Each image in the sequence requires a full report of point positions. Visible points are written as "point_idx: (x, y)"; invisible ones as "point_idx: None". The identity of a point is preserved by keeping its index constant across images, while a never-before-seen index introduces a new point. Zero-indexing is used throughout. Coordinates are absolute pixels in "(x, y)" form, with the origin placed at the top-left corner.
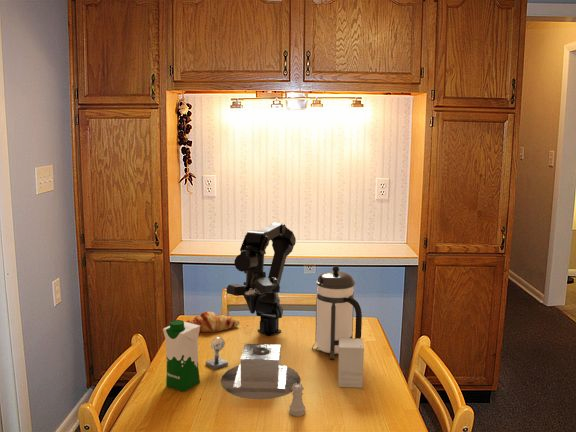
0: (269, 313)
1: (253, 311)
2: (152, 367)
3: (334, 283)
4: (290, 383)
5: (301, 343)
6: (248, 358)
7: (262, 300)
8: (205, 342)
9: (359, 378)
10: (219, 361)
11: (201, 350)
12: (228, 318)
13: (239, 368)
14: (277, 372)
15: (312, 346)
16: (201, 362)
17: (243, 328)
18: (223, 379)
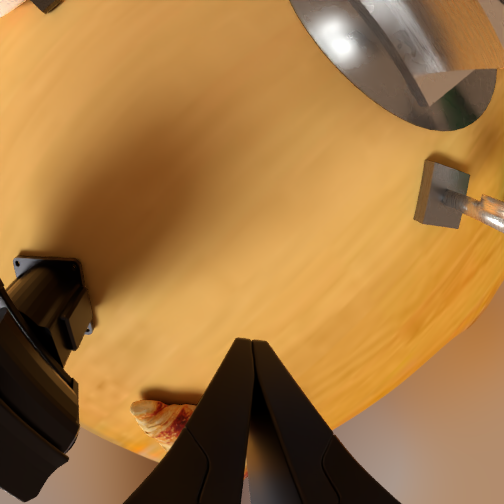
0: (20, 329)
1: (257, 354)
2: (484, 304)
3: None
4: None
5: (27, 90)
6: None
7: (26, 439)
8: (320, 367)
9: None
10: (444, 191)
11: (378, 324)
12: (170, 437)
13: (445, 87)
14: None
15: (48, 3)
16: (442, 249)
17: (126, 379)
18: (479, 107)
